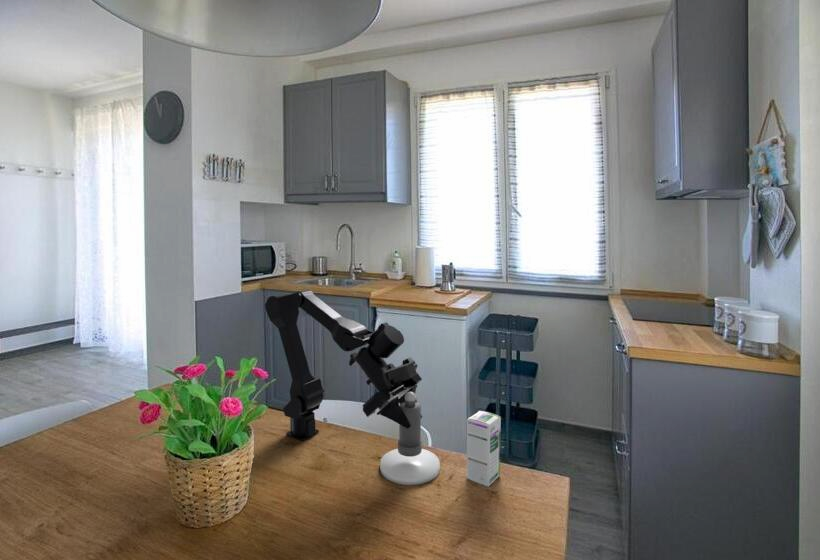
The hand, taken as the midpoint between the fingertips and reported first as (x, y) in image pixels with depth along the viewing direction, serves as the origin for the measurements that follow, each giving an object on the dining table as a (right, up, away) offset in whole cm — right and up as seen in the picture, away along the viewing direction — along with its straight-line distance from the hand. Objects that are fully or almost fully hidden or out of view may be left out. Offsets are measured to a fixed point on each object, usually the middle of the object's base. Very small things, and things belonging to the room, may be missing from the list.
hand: (415, 423), depth 101 cm
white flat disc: (-1, -11, +2) cm, 12 cm away
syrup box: (+15, -12, -2) cm, 20 cm away
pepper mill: (-1, -7, +1) cm, 7 cm away
